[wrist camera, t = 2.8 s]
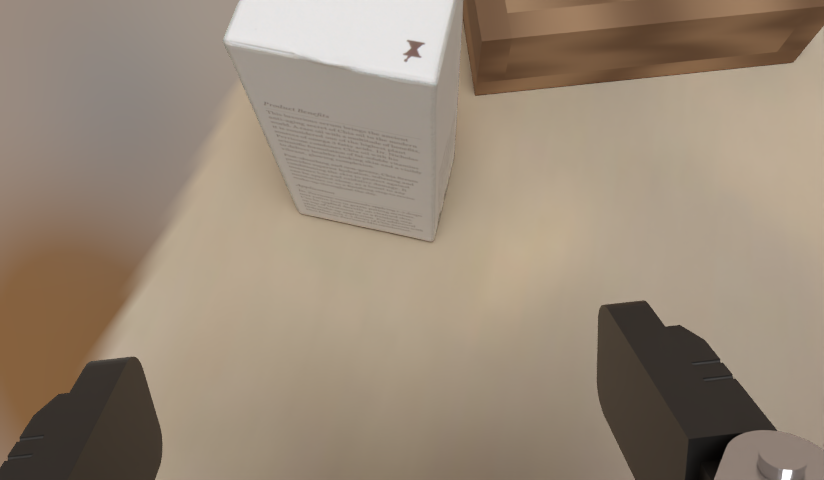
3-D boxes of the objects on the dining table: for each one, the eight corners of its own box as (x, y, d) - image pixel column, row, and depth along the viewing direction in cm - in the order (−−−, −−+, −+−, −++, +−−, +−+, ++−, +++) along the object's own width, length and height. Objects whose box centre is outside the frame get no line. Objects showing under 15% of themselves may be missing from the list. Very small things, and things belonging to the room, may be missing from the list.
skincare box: (456, 154, 31) (473, -42, 20) (434, 245, 30) (439, 88, 19) (321, 127, 32) (264, -80, 21) (293, 214, 31) (216, 44, 19)
